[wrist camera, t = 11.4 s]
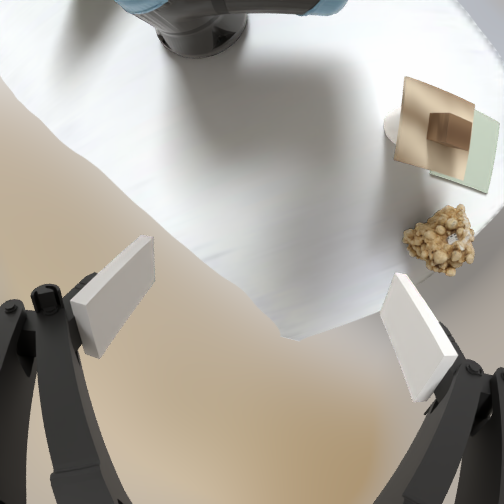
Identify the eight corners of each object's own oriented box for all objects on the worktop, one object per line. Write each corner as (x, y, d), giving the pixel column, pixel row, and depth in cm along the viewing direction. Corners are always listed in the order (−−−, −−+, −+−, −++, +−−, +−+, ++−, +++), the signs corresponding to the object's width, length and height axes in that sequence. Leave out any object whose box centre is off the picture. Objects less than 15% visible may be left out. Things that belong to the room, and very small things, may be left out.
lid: (404, 77, 27) (424, 70, 22) (471, 104, 27) (496, 104, 21) (393, 159, 32) (412, 166, 26) (460, 179, 31) (483, 189, 26)
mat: (441, 94, 37) (443, 94, 37) (498, 122, 36) (499, 122, 36) (429, 173, 43) (431, 173, 43) (485, 193, 43) (487, 193, 42)
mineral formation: (391, 231, 48) (425, 269, 35) (442, 185, 44) (488, 209, 30) (412, 260, 50) (445, 303, 37) (460, 217, 46) (504, 248, 32)
